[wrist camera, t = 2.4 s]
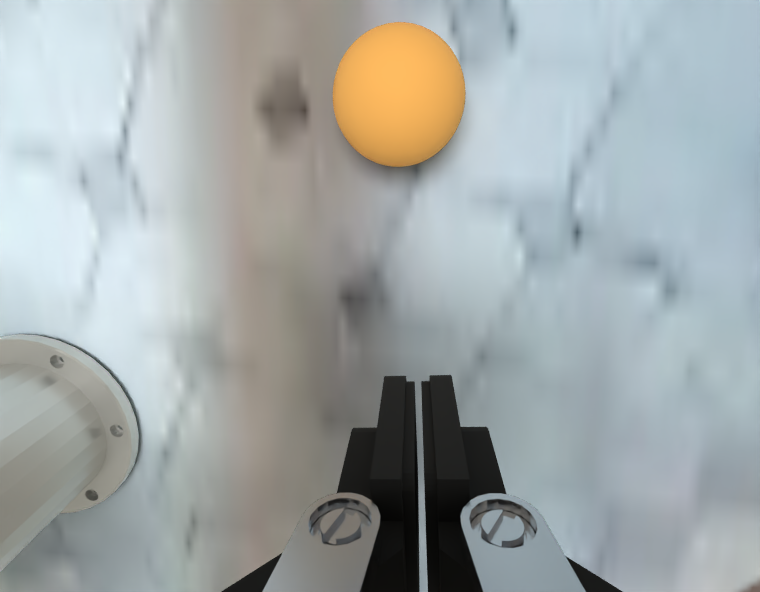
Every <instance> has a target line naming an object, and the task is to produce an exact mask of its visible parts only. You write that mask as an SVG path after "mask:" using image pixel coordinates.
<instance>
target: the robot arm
mask: <svg viewBox="0 0 760 592" xmlns="http://www.w3.org/2000/svg"><path fill="white" fill-rule="evenodd" d="M421 385H422V416H423V448H424V480H425V512H426V544H427V575H428V592H622V591H621V590H619V589H617V588H616V587H614V586H613V585H611V584H609V583H608V582H606V581H605V580H603V579H601V578H600V577H598V576H597V575H595V574H593V573H592V572H590V571H588V570H587V569H585V568H584V567H582V566H580V565H579V564H577V563H576V562H574V561H572V560H571V559H569V558H568V557H566V556H565V555H564V553H563V551H562V549H561V548H560V546H559V544H558V542H557V541H556V539H555V537H554V535H553V534H552V532H551V530H550V528H549V527H548V525H547V523H546V521H545V520H544V518H543V517H542V515H541V514H540V513H539V512H538V510H537V509H536V508H535V507H533V506H532V505H531V504H529V503H528V502H526V501H524V500H522V499H520V498H518V497H515V496H511V495H507V494H506V491H505V488H504V484H503V480H502V477H501V473H500V470H499V466H498V463H497V459H496V455H495V452H494V448H493V445H492V441H491V437H490V434H489V431H488V428H487V427H460V421H459V416H458V410H457V404H456V399H455V393H454V387H453V382H452V376H451V375H433V376H430V381H421ZM138 442H139V433H138V427H137V421H136V417H135V415H134V412H133V409H132V407H131V404H130V402H129V400H128V398H127V397H126V395H125V393H124V392H123V390H122V388H121V386H120V385H119V384H118V383H117V382H116V380H115V379H114V378H113V377H112V376H111V375H110V373H109V372H108V371H107V370H106V369H104V368H103V367H102V366H101V365H100V364H99V363H98V362H96V361H95V360H94V359H93V358H91V357H90V356H88V355H87V354H85V353H83V352H82V351H80V350H79V349H77V348H75V347H73V346H71V345H68V344H66V343H63V342H61V341H59V340H56V339H52V338H48V337H43V336H39V335H26V334H16V335H9V336H2V337H0V572H1V571H2V570H3V569H4V568H5V567H6V566H7V565H8V564H9V563H10V562H11V561H12V560H13V559H14V558H15V557H16V556H17V555H18V554H19V553H20V552H21V551H22V550H23V549H24V548H25V547H26V546H27V545H28V544H29V543H30V542H31V541H32V540H33V539H34V538H35V537H36V536H37V535H38V534H39V533H40V532H41V531H42V530H43V529H44V528H45V527H46V526H47V525H48V524H49V523H50V522H51V521H52V520H53V519H54V518H55V517H56V516H57V515H58V514H61V513H72V512H78V511H82V510H85V509H89V508H91V507H93V506H95V505H97V504H99V503H101V502H103V501H105V500H106V499H107V498H108V497H109V496H110V495H112V494H113V493H114V492H115V491H116V490H117V489H118V488H119V486H120V485H121V484H122V483H123V482H124V481H125V480H126V478H127V477H128V475H129V473H130V472H131V470H132V468H133V466H134V464H135V460H136V457H137V453H138ZM222 592H419V514H418V464H417V436H416V408H415V382H406V376H385V377H384V383H383V390H382V397H381V404H380V411H379V418H378V425H377V428H353V429H352V432H351V436H350V440H349V444H348V448H347V452H346V457H345V461H344V465H343V469H342V474H341V478H340V482H339V486H338V491H337V493H336V494H331V495H328V496H325V497H323V498H321V499H319V500H317V501H316V502H314V503H313V504H312V505H310V506H309V507H308V508H307V510H306V511H305V512H304V514H303V515H302V517H301V519H300V521H299V523H298V524H297V526H296V528H295V530H294V532H293V534H292V536H291V538H290V540H289V542H288V544H287V546H286V547H285V549H284V551H283V553H282V554H280V555H278V556H277V557H275V558H274V559H272V560H271V561H269V562H267V563H266V564H264V565H263V566H261V567H259V568H258V569H256V570H255V571H253V572H252V573H250V574H248V575H247V576H245V577H244V578H242V579H241V580H239V581H237V582H236V583H234V584H233V585H231V586H230V587H228V588H226V589H225V590H223V591H222Z"/></svg>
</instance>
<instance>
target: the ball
mask: <svg viewBox="0 0 760 592" xmlns="http://www.w3.org/2000/svg"><path fill="white" fill-rule="evenodd" d="M464 104H465V82H464V77H463V73H462V69H461V66H460V64H459V62H458V60H457V58H456V56H455V54H454V53H453V51H452V50H451V48H450V47H449V46H448V45H447V43H446V42H445V41H444V40H443V39H442V38H440V37H439V36H438V35H437V34H435V33H434V32H432V31H431V30H429V29H427V28H425V27H423V26H420V25H416V24H413V23H406V22H394V23H388V24H384V25H381V26H378V27H375V28H373V29H371V30H369V31H368V32H366V33H365V34H363V35H362V36H360V37H359V38H358V39H357V40H356V41H355V42H354V43H353V44H352V45H351V46H350V47H349V49H348V50H347V52H346V53H345V55H344V56H343V58H342V60H341V62H340V64H339V67H338V69H337V72H336V76H335V80H334V86H333V106H334V112H335V116H336V120H337V122H338V125H339V127H340V129H341V131H342V133H343V135H344V136H345V138H346V139H347V141H348V142H349V143H350V144H351V145H352V147H353V148H354V149H355V150H356V151H358V152H359V153H360V154H361V155H363V156H364V157H366V158H367V159H369V160H371V161H373V162H376V163H378V164H382V165H386V166H392V167H403V166H410V165H414V164H418V163H420V162H423V161H425V160H427V159H429V158H430V157H432V156H434V155H435V154H436V153H438V152H439V151H440V150H441V149H442V148H443V147H444V146H445V145H446V144H447V143H448V142H449V140H450V139H451V138H452V136H453V134H454V133H455V131H456V129H457V127H458V125H459V123H460V120H461V117H462V114H463V110H464Z"/></svg>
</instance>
